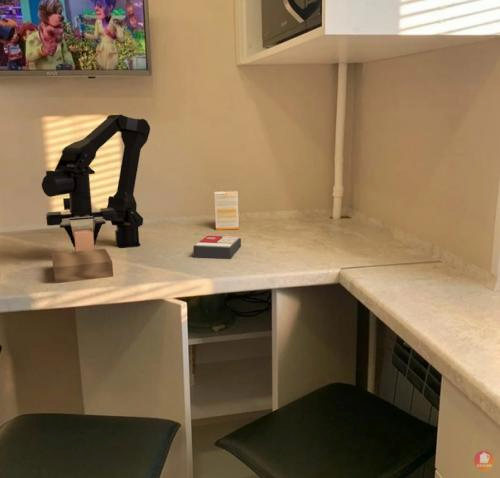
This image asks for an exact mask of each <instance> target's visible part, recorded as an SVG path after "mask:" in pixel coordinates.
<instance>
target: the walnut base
mask: <svg viewBox="0 0 500 478" xmlns="http://www.w3.org/2000/svg"><path fill="white" fill-rule="evenodd" d="M51 259H52V268H53V269H52V270H53V276H54V282H55V284H59V283H68V282H69V283H70V282H75V281H76V282H77V281H84V280H85V281H87V280H94V279H103V278H112V277H114V270H113V269H114V268H113V265H114V264H113V261H112V259H111V256H110V254H109V252H108V250H107V248H99V249H94V250H86V251H76V252H75V251H68V252H66V251H65V252H58V253H55V252H54V253H51Z"/></svg>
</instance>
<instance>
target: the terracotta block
mask: <svg viewBox="0 0 500 478" xmlns="http://www.w3.org/2000/svg"><path fill="white" fill-rule="evenodd" d="M72 232H73V236H74V240H75V247H74V252H76V251H86V250H95V245H94V238H93V228H80V229H72Z"/></svg>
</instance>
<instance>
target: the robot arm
mask: <svg viewBox="0 0 500 478" xmlns="http://www.w3.org/2000/svg"><path fill="white" fill-rule="evenodd" d="M118 132H119V133H121V134H120V137H121V141H122V143H123V146H124V147H123V154H122V159H121V165H120V170H119V177H118V182H117V188H116V192H115V194H114V195H113V196H110V195H109V196H108V198H107V207H105V208H100V209H99V210H100V211H92V210H93V208H92V194H91V184H90V181H91V180H90V175H95V173H96V171H95V170H94V169H92V168H91V167H90V165H92V162H94V160H95V159H96V157H97V152H98V151H99V149H101V148H102V147H103V146H104V144H106V143H107V142H108V141H109V140H110V139H112V138H113V137H114V136H115V135H116V134H117V133H118ZM150 133H151V126H150V124H149V122H148V121H147V120H146V119H145V118H133V117H130V116H129V117H128V116H127V115H123V114H109V115H107V117H106V119H105V120H103V122H101V123H100V124H98V126H96V127H95V128H94V129H93V130H92V131H90V133H89V134H87V135H86V136H85V137H84V138H82V139H79V140H77V141H74V142H72V143H70V144H68V145H66V146H65V147H63V149H62V151H61V156H60V158H59V160H58V163H57V164H56V167H55V168H54V170H45V176H44V177H43V179H42V181H41V189H42V191H43V193H44V194H45V195H46V196H47V197H49V198H52V197H59V196H63V195H69V197H65V198H63V199H62V201H63V202H62V203H63V210H64V211H69V213H65V214H62V211H60V210H59V211H50V212H47V213H46V214H45V218H46V219H45V220H46V226H51V227H52V226H59V228H62V229H64V231H65V233H67V235H68V237H69V239H70V241H71V243H72V246H73V248H75V240H74V234H73V228H72V224H71V221H80V220H81V221H82V220H92V231H93V238H94V246H96V242H97V239H98V235H99V232H100V230H101V228H102V225H106V222H110V223H111V225H112V226H116V229H115V230H114V234H115V235H114V236H115V237H114V238H115V243H116V245H117V246H118V247H119V248H128V247H138V246H139V247H140V246H141V243H140V237H139V235H140V234H139V233H140V232H139V228H140V227H141V226H143V224H144V218H143V216H141V214H140V213H139V212H138V211H137V208H138V207H137V205H138V203H137V201H136V198H135V196H134V192H135V186H136V180H137V172H138V168H139V162H140V155H141V150H142V148H143V147H144V146H145V144H146V143H147V142H148V139H149V136H150Z"/></svg>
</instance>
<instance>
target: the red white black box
mask: <svg viewBox="0 0 500 478" xmlns="http://www.w3.org/2000/svg"><path fill="white" fill-rule="evenodd" d="M241 240H242V239H241V238H240V236H228V235H227V236H226V235H225V236H222V235H206V236H205V237H204V238H202V239H201V240H199V242H197V243H196V244H195V245H194V246H193V249H192V251H193V259H214V260H215V259H216V260H232V258H233V257H234V256H235V255H236V253H237V252H238V250H240V248H241V247H242V241H241Z"/></svg>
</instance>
